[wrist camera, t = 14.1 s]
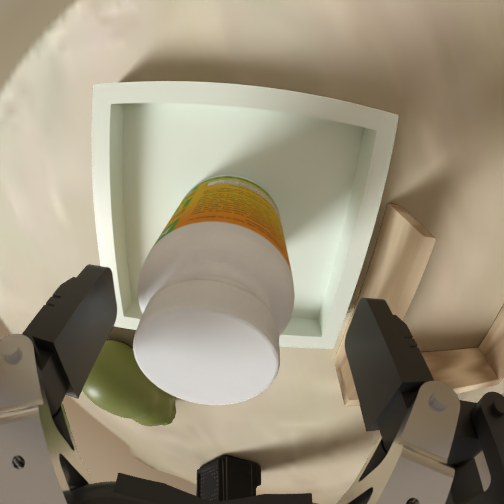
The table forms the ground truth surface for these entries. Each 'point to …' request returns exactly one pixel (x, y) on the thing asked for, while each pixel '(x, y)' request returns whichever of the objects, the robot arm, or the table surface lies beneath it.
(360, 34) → the table surface
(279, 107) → the plastic tray
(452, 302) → the table surface
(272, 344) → the supplement bottle
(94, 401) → the pear
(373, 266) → the frame
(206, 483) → the portable radio
